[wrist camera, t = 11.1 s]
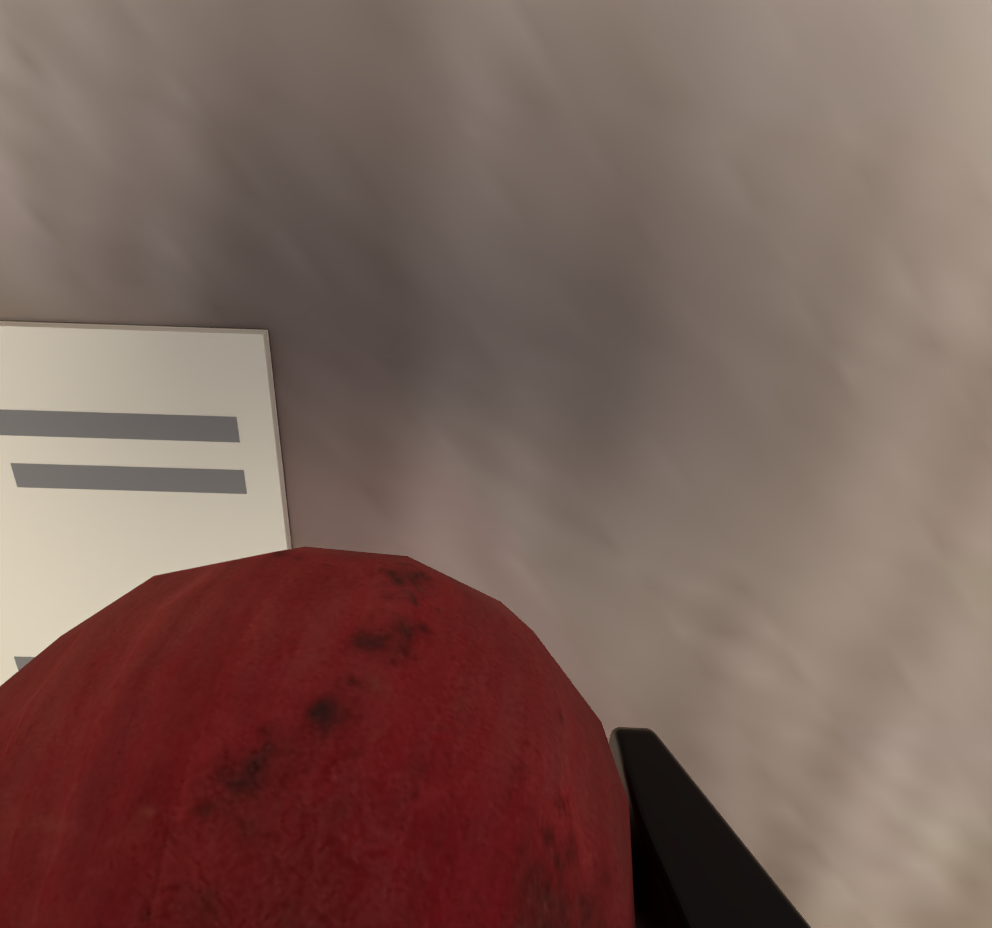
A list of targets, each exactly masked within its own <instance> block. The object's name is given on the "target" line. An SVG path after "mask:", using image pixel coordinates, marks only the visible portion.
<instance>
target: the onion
mask: <svg viewBox="0 0 992 928" xmlns="http://www.w3.org/2000/svg"><path fill="white" fill-rule="evenodd" d="M0 928H636V925H635V906H634V888H633V871H632V853H631V836H630V818H629V802H628V799H627V796H626V793H625V790H624V787H623V784H622V781H621V778H620V775H619V773H618V770H617V767H616V764H615V761H614V758H613V755H612V752H611V749H610V746H609V743H608V740H607V738H606V735H605V732H604V729H603V726H602V723H601V721H600V720H599V718H598V717H597V716H596V714H595V713H594V712H593V710H592V709H591V708H590V706H589V705H588V704H587V702H586V701H585V700H584V698H583V697H582V696H581V694H580V693H579V692H578V690H577V689H576V688H575V686H574V685H573V684H572V682H571V681H570V680H569V678H568V677H567V676H566V674H565V673H564V672H563V670H562V669H561V668H560V666H559V665H558V664H557V662H556V661H555V660H554V658H553V657H552V656H551V654H550V653H549V652H548V650H547V649H546V648H545V646H544V645H543V644H542V642H541V641H540V640H539V638H538V637H537V636H536V634H535V633H534V632H533V631H532V630H531V629H530V628H529V627H528V626H527V625H526V624H525V623H524V622H522V621H521V620H520V619H519V618H518V617H517V616H516V615H515V614H514V613H513V612H511V611H510V610H509V609H508V608H507V607H506V606H505V605H504V604H503V603H501V602H500V601H498V600H496V599H494V598H492V597H490V596H488V595H486V594H484V593H482V592H480V591H478V590H475V589H473V588H471V587H469V586H467V585H465V584H463V583H461V582H459V581H457V580H455V579H453V578H451V577H449V576H447V575H445V574H443V573H441V572H439V571H436V570H434V569H432V568H430V567H428V566H426V565H424V564H422V563H420V562H418V561H416V560H414V559H412V558H410V557H408V556H398V555H388V554H377V553H366V552H355V551H345V550H334V549H323V548H312V547H301V548H295V549H288V550H282V551H276V552H271V553H266V554H261V555H256V556H251V557H246V558H241V559H236V560H231V561H226V562H221V563H216V564H211V565H206V566H201V567H196V568H191V569H186V570H180V571H175V572H170V573H165V574H160V575H155V576H153V577H151V578H150V579H148V580H147V581H145V582H144V583H142V584H140V585H139V586H137V587H136V588H134V589H133V590H131V591H130V592H128V593H127V594H125V595H123V596H122V597H120V598H119V599H117V600H116V601H114V602H113V603H111V604H110V605H108V606H106V607H105V608H103V609H102V610H100V611H99V612H97V613H96V614H94V615H93V616H91V617H89V618H88V619H86V620H85V621H83V622H82V623H80V624H79V625H77V626H75V627H74V628H72V629H71V630H69V631H68V632H66V633H65V634H63V635H62V636H60V637H59V638H58V639H57V640H55V641H54V642H53V643H52V644H50V645H49V646H48V647H47V648H46V649H44V650H43V651H42V652H41V653H40V654H38V655H37V656H36V657H35V658H34V659H32V660H31V661H30V662H29V663H28V664H26V665H25V666H24V667H23V668H22V669H20V670H19V671H18V672H17V673H15V674H14V675H13V676H12V677H11V678H9V679H8V680H7V681H6V682H5V683H3V684H2V685H1V686H0Z"/></svg>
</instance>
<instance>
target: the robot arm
mask: <svg viewBox="0 0 992 928" xmlns="http://www.w3.org/2000/svg"><path fill="white" fill-rule="evenodd" d="M609 746H610V749H611V752H612V755H613V758H614V761H615V764H616V767H617V770H618V773H619V775H620V778H621V781H622V784H623V787H624V790H625V793H626V796H627V799H628V802H629V818H630V836H631V853H632V871H633V888H634V906H635V925H636V928H811V927H810V926H809V925H808V923H807V922H806V921H805V920H804V918H803V917H802V916H801V915H800V913H799V912H798V911H797V910H796V908H795V907H794V906H793V905H792V903H791V902H790V901H789V900H788V898H787V897H786V896H785V895H784V893H783V892H782V891H781V890H780V888H779V887H778V886H777V885H776V883H775V882H774V881H773V880H772V878H771V877H770V876H769V875H768V873H767V872H766V871H765V870H764V868H763V867H762V866H761V865H760V863H759V862H758V861H757V860H756V858H755V857H754V856H753V855H752V853H751V852H750V851H749V850H748V848H747V847H746V846H745V845H744V843H743V842H742V841H741V840H740V838H739V837H738V836H737V835H736V833H735V832H734V831H733V830H732V828H731V827H730V826H729V825H728V823H727V822H726V821H725V820H724V818H723V817H722V816H721V815H720V813H719V812H718V811H717V810H716V808H715V807H714V806H713V805H712V803H711V802H710V801H709V800H708V799H707V797H706V796H705V795H704V794H703V792H702V791H701V790H700V789H699V787H698V786H697V785H696V784H695V782H694V781H693V780H692V779H691V777H690V776H689V775H688V774H687V772H686V771H685V770H684V769H683V767H682V766H681V765H680V764H679V762H678V761H677V760H676V759H675V757H674V756H673V755H672V754H671V752H670V751H669V750H668V749H667V747H666V746H665V745H664V744H663V742H662V741H661V740H660V739H659V737H658V736H657V735H656V734H655V733H654V732H653V731H652V730H650V729H647V728H626V727H618V728H615V729H614V730H613V731H612V733H611V735H610V741H609Z"/></svg>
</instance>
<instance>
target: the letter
mask: <svg viewBox="0 0 992 928" xmlns="http://www.w3.org/2000/svg"><path fill="white" fill-rule="evenodd" d="M288 549H292V547H291V537H290V528H289V519H288V510H287V501H286V491H285V482H284V473H283V464H282V455H281V445H280V436H279V427H278V418H277V409H276V399H275V390H274V381H273V372H272V363H271V353H270V344H269V335H268V330H259V329H229V328H198V327H168V326H138V325H107V324H77V323H47V322H17V321H0V686H1V685H2V684H3V683H5V682H6V681H7V680H8V679H9V678H11V677H12V676H13V675H14V674H15V673H17V672H18V671H19V670H20V669H22V668H23V667H24V666H25V665H26V664H28V663H29V662H30V661H31V660H32V659H34V658H35V657H36V656H37V655H38V654H40V653H41V652H42V651H43V650H44V649H46V648H47V647H48V646H49V645H50V644H52V643H53V642H54V641H55V640H57V639H58V638H59V637H60V636H62V635H63V634H65V633H66V632H68V631H69V630H71V629H72V628H74V627H75V626H77V625H79V624H80V623H82V622H83V621H85V620H86V619H88V618H89V617H91V616H93V615H94V614H96V613H97V612H99V611H100V610H102V609H103V608H105V607H106V606H108V605H110V604H111V603H113V602H114V601H116V600H117V599H119V598H120V597H122V596H123V595H125V594H127V593H128V592H130V591H131V590H133V589H134V588H136V587H137V586H139V585H140V584H142V583H144V582H145V581H147V580H148V579H150V578H151V577H153V576H155V575H160V574H165V573H170V572H175V571H180V570H186V569H191V568H196V567H201V566H206V565H211V564H216V563H221V562H226V561H231V560H236V559H241V558H246V557H251V556H256V555H261V554H266V553H271V552H276V551H282V550H288Z"/></svg>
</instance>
